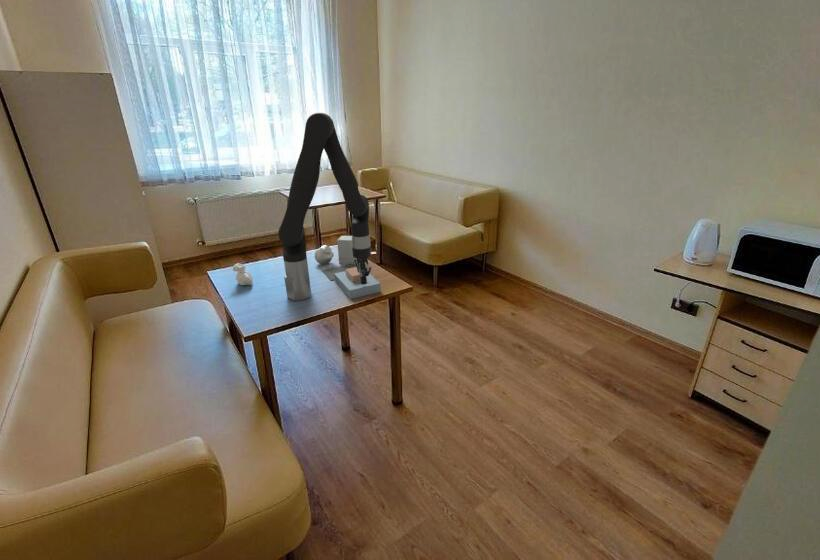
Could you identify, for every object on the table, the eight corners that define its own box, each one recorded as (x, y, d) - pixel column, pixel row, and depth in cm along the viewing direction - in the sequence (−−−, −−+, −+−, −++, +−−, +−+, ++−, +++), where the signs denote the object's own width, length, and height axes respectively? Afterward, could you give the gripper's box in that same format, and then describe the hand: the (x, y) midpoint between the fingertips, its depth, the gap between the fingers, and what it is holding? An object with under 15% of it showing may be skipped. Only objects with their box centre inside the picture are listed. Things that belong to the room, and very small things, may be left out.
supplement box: (352, 264, 207) (351, 240, 202) (338, 263, 209) (336, 239, 203) (356, 258, 214) (355, 235, 209) (343, 258, 215) (341, 235, 210)
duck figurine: (241, 283, 193) (222, 269, 186) (253, 271, 195) (234, 257, 187) (249, 292, 185) (229, 278, 177) (261, 279, 186) (241, 265, 178)
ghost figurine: (322, 269, 202) (320, 250, 198) (312, 263, 209) (310, 245, 204) (337, 264, 208) (336, 245, 204) (327, 259, 214) (325, 241, 210)
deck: (380, 291, 178) (380, 283, 177) (350, 298, 173) (349, 290, 171) (363, 275, 195) (362, 267, 193) (334, 281, 189) (334, 273, 187)
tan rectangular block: (365, 279, 180) (365, 273, 179) (353, 282, 178) (352, 276, 177) (358, 272, 188) (357, 266, 186) (345, 275, 185) (345, 269, 184)
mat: (365, 273, 196) (365, 273, 196) (330, 281, 189) (330, 280, 189) (354, 263, 208) (354, 263, 208) (321, 270, 201) (321, 270, 200)
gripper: (376, 248, 163) (378, 287, 171) (363, 239, 174) (366, 276, 181) (358, 251, 160) (361, 291, 168) (346, 242, 171) (350, 279, 178)
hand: (363, 283), depth 174 cm, fingers closed
